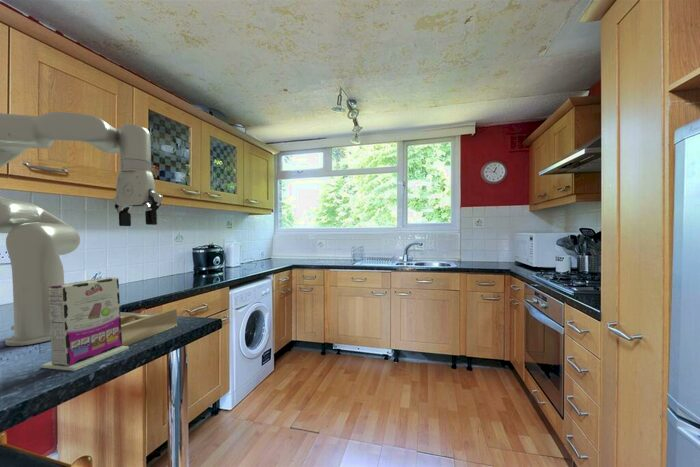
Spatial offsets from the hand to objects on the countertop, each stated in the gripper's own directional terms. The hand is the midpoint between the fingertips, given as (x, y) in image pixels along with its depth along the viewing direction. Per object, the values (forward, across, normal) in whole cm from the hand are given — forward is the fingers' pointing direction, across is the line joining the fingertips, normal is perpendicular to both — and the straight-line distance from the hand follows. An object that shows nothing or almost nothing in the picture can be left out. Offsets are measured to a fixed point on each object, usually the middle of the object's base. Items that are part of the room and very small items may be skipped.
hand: (138, 225), depth 85 cm
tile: (+30, +9, -20) cm, 38 cm away
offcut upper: (+28, +1, -6) cm, 28 cm away
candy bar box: (+30, +9, -20) cm, 37 cm away
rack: (+30, +4, -6) cm, 31 cm away
